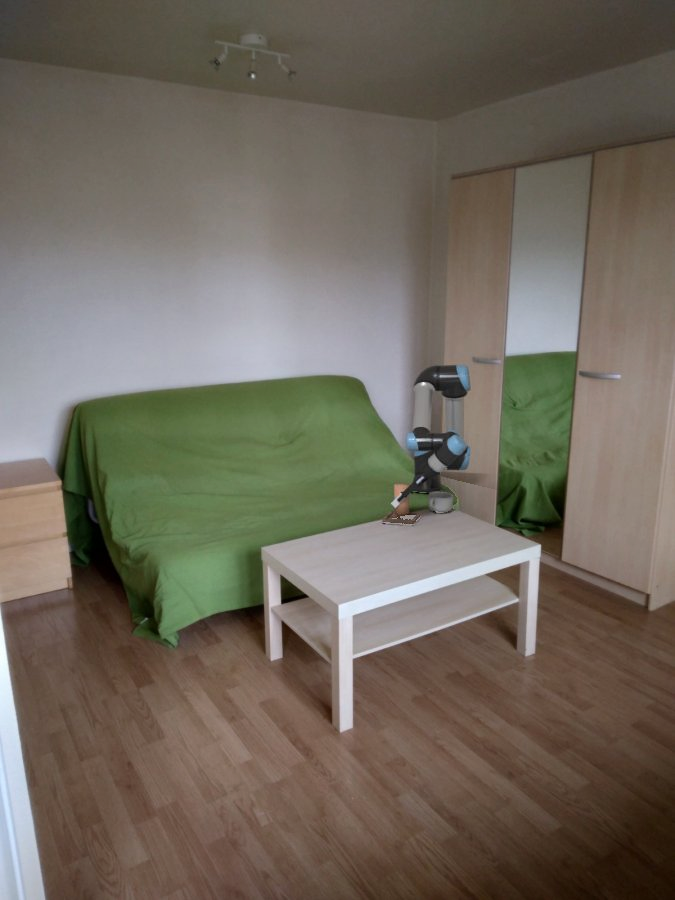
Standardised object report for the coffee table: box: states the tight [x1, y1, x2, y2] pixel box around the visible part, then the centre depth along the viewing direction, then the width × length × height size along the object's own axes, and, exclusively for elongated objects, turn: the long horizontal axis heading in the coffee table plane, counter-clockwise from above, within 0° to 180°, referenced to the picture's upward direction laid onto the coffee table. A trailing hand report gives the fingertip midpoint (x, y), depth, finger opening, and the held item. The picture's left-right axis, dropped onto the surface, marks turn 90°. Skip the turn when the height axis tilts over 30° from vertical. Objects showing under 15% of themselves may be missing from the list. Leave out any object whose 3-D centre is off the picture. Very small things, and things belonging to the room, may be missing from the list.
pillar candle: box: [393, 482, 410, 515], centre depth 271 cm, size 6×6×12 cm
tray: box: [381, 510, 422, 524], centre depth 273 cm, size 13×13×2 cm
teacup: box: [427, 491, 454, 513], centre depth 283 cm, size 14×11×8 cm
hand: (395, 503), depth 272 cm, fingers closed on pillar candle, 6 cm apart
